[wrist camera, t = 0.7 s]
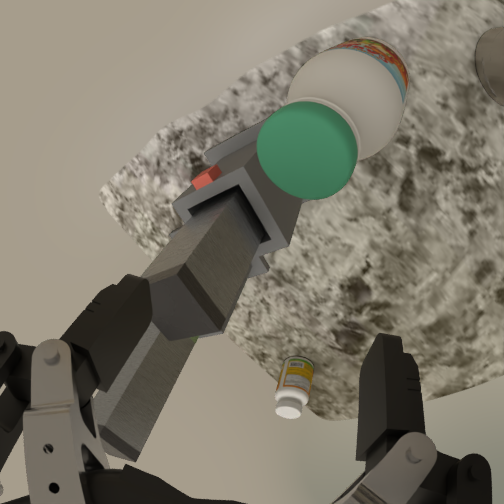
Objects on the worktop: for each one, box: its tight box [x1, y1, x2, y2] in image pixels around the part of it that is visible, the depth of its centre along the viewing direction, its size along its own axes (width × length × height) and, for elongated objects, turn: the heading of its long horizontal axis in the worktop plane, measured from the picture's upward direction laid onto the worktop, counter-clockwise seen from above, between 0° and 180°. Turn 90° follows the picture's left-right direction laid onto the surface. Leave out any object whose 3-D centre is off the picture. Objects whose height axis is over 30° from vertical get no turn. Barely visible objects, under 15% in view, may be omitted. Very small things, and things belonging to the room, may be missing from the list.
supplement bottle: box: [275, 356, 314, 419], centre depth 49 cm, size 5×5×10 cm
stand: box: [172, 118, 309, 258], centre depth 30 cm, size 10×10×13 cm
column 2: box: [141, 184, 266, 341], centre depth 26 cm, size 4×4×22 cm
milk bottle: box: [257, 37, 410, 200], centre depth 20 cm, size 8×8×20 cm
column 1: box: [93, 321, 199, 462], centre depth 29 cm, size 4×4×22 cm
